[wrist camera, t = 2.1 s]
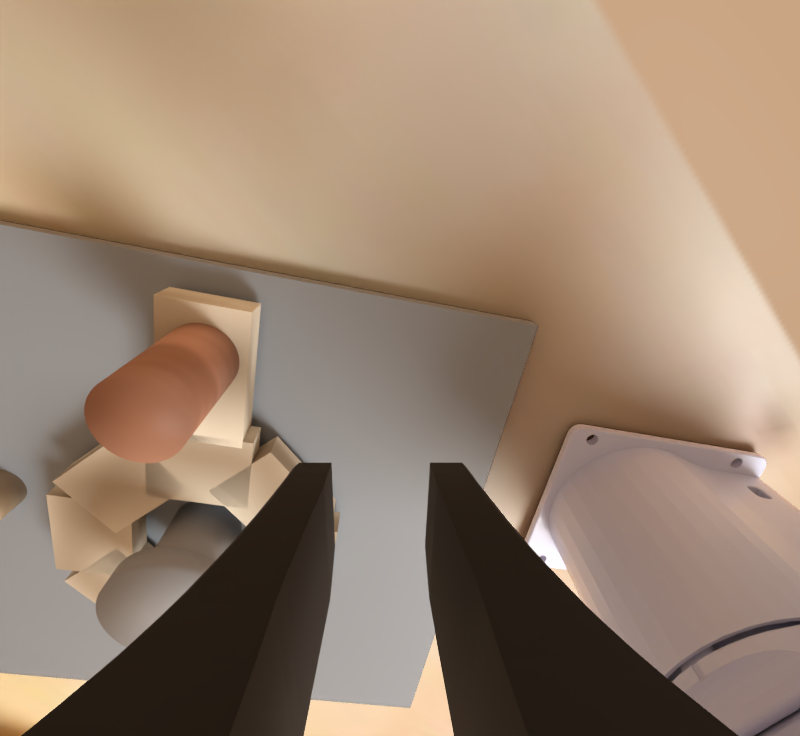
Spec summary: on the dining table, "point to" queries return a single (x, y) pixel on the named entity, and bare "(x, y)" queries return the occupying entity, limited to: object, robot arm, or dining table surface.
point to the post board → (277, 416)
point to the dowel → (10, 492)
